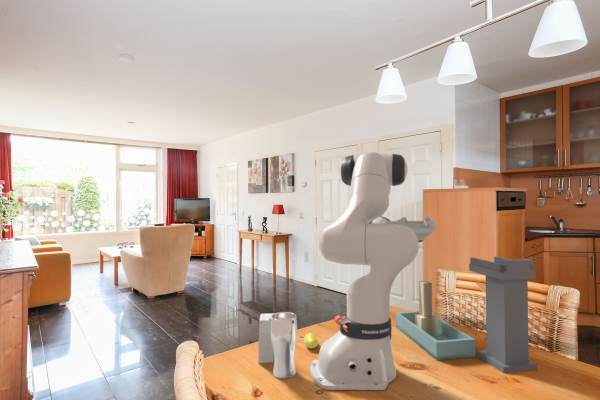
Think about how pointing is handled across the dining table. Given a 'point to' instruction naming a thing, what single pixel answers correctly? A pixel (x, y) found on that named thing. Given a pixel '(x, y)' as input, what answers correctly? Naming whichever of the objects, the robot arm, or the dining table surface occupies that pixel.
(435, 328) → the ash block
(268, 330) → the skincare box
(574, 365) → the dining table surface
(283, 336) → the beer glass
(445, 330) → the teal bin
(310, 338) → the lemon
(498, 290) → the chute stand
